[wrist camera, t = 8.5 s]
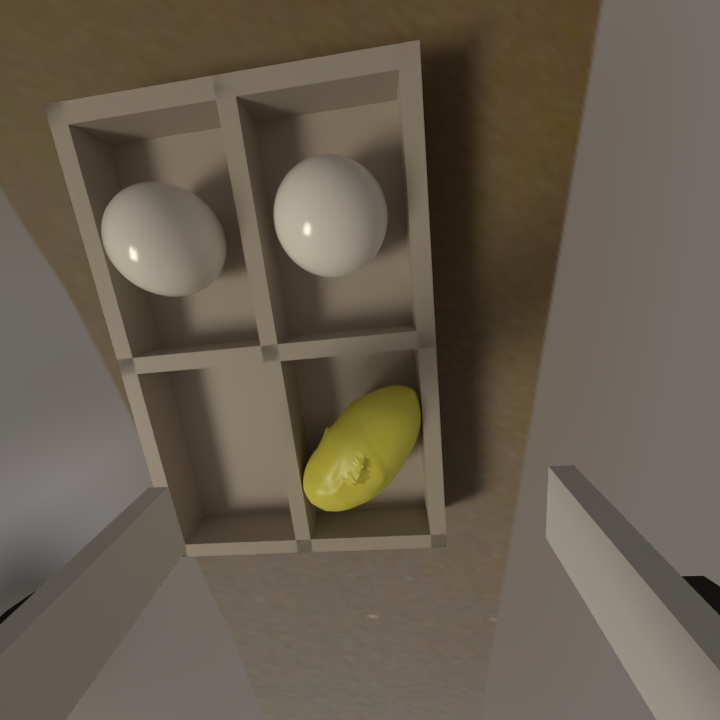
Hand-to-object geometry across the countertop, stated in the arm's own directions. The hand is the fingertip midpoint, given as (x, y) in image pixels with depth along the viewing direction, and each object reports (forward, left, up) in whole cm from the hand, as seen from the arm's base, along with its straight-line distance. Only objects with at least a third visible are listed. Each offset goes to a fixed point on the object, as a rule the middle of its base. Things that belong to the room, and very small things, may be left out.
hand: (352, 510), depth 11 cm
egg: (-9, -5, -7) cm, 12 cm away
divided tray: (-2, -6, -7) cm, 10 cm away
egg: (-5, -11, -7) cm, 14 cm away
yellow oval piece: (0, 0, -7) cm, 7 cm away
